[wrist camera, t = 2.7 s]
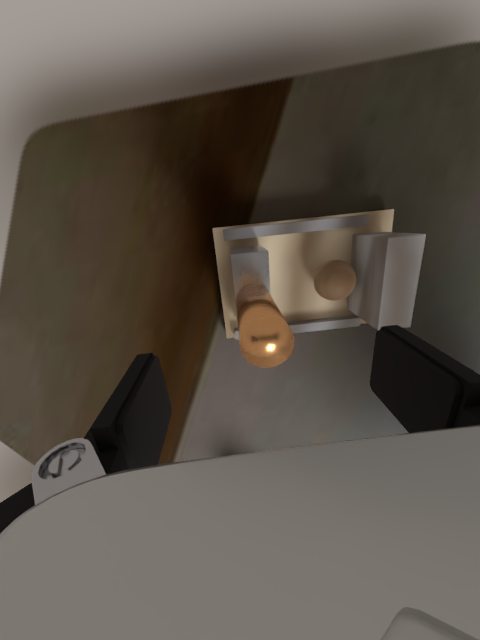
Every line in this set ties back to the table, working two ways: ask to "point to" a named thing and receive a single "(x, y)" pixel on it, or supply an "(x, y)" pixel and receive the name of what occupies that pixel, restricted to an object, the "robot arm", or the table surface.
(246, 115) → the table surface
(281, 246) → the board
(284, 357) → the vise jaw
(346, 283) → the walnut
